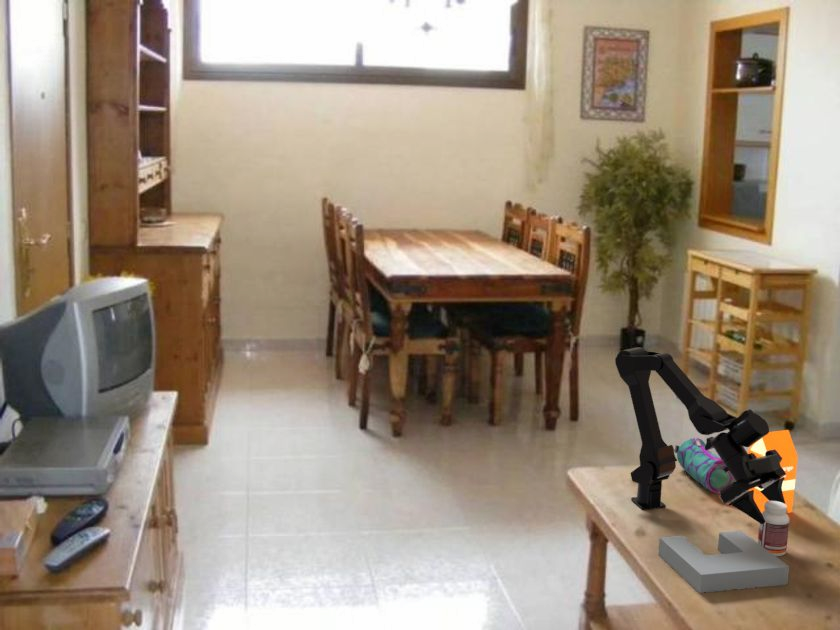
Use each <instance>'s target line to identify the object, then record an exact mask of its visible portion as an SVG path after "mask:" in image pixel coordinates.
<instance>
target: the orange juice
mask: <svg viewBox="0 0 840 630" xmlns="http://www.w3.org/2000/svg"><path fill="white" fill-rule="evenodd" d="M773 449H775V450H776V451H777V452H778V453H779V454H780V456H781V457H782V460H781V462H780V465H781V467H782V468H783V470H784V471H785V473H786V475H785V476H783V477H785V480H784V481H783V483H782V492H783V496H784V500H785V503H786V505H787V510H788V512H787V513H786V514H788V513H792V512H793V504H794V503H793V502H794V495H795V494H794V493H795V488H796V487H795V486H796V477H797V466H798V458H799V457H798V454H797V451H796V448H795V444H794V443H793V440H792V437H791V433H790V430H789V429H785V430H777V431H769V433H768V434H767V435H766V436H764V437H763V438H761V439H760V440H758V441H757V442H756V443H754V444H753V445H751V446H750V447H748V449H747V453H748V454H750V453H753V454H755V456H756V457H757V458H759V457H762V456H765V453H766V451H769V450H773ZM783 477H782V478H783ZM780 479H781V478H780ZM763 489H764V488H763ZM763 489H760V488H759V487H755V488H752V489H750V490H749V491H751V490H754V501H755V502H756V504H757V506H758V508H759V510H760V512H761V513H762V512H763V511H765V509H764V505H765V502H767V501H769V500H768V499H767V498H766V497H765V496H764V495H763V494H762V493H761V492H760V491H762V490H763Z"/></svg>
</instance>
